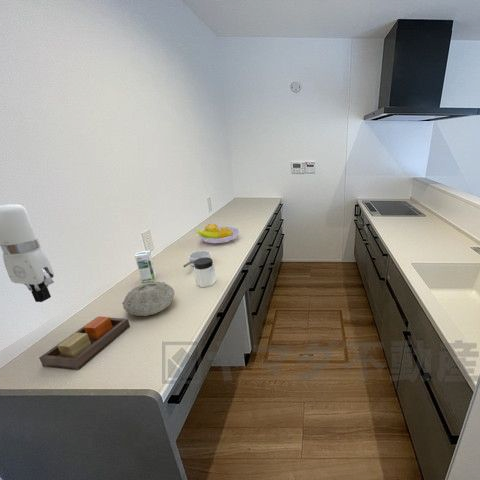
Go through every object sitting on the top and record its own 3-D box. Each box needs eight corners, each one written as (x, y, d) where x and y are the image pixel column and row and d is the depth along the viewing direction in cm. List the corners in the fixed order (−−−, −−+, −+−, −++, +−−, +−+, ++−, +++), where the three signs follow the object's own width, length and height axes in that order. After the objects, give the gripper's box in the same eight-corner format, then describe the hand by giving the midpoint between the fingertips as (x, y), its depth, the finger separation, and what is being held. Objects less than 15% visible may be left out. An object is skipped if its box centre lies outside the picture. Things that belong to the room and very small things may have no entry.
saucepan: (175, 274, 136) (173, 265, 134) (197, 258, 154) (195, 250, 152) (196, 276, 135) (194, 266, 133) (215, 260, 153) (214, 251, 151)
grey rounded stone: (115, 316, 103) (108, 294, 100) (153, 293, 119) (149, 273, 116) (150, 325, 98) (144, 302, 95) (185, 299, 114) (181, 279, 111)
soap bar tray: (42, 366, 80) (35, 351, 78) (100, 324, 99) (95, 310, 97) (78, 370, 79) (72, 354, 77) (129, 326, 98) (126, 313, 96)
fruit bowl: (236, 232, 200) (235, 217, 196) (242, 244, 177) (240, 228, 173) (196, 236, 190) (194, 221, 186) (196, 250, 166) (194, 233, 162)
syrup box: (141, 283, 127) (134, 256, 122) (143, 277, 132) (136, 251, 127) (155, 281, 130) (148, 254, 124) (156, 275, 135) (150, 249, 130)
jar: (219, 282, 129) (216, 260, 125) (204, 289, 123) (200, 266, 119) (208, 277, 134) (205, 255, 130) (193, 283, 128) (189, 261, 123)
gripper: (-18, 250, 75) (8, 304, 81) (29, 252, 73) (52, 308, 80) (13, 241, 82) (35, 292, 88) (57, 243, 80) (76, 294, 87)
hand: (43, 299), depth 84 cm, fingers closed
